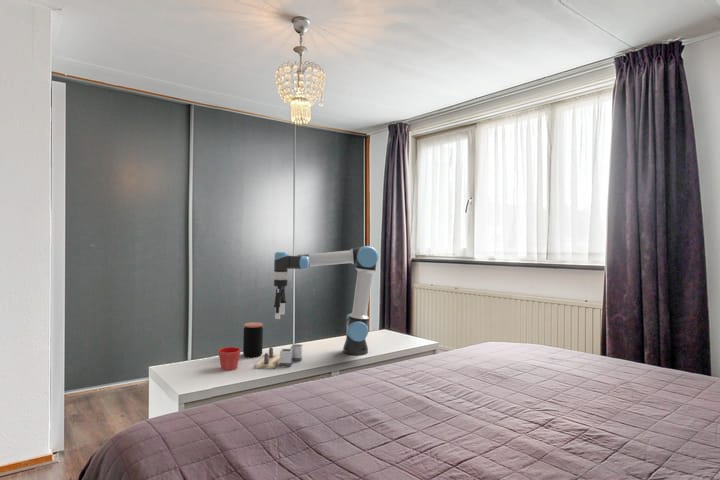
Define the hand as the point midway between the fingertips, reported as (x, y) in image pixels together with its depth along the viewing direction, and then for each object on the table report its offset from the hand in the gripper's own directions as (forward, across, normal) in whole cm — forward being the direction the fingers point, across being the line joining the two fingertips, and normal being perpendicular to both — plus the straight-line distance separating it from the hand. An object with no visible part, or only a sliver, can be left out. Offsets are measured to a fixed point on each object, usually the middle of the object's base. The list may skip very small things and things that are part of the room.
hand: (279, 316), depth 241 cm
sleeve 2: (+23, +4, +10) cm, 26 cm away
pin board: (+23, +12, -4) cm, 26 cm away
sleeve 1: (+23, +14, +7) cm, 28 cm away
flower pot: (+23, +23, -21) cm, 39 cm away
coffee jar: (+23, -2, -16) cm, 28 cm away
